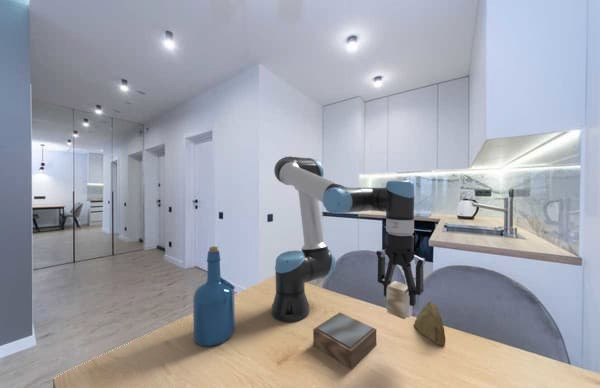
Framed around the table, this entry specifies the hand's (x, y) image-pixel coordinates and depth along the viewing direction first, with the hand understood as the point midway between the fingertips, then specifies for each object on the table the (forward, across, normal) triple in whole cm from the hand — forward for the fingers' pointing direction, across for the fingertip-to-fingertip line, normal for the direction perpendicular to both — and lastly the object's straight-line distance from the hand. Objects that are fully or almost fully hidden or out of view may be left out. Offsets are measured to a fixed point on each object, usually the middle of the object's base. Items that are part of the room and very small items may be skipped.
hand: (399, 311), depth 67 cm
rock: (+13, +4, +16) cm, 21 cm away
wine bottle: (+14, -48, -35) cm, 61 cm away
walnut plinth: (+13, -14, -8) cm, 20 cm away
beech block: (0, 0, 0) cm, 0 cm away
